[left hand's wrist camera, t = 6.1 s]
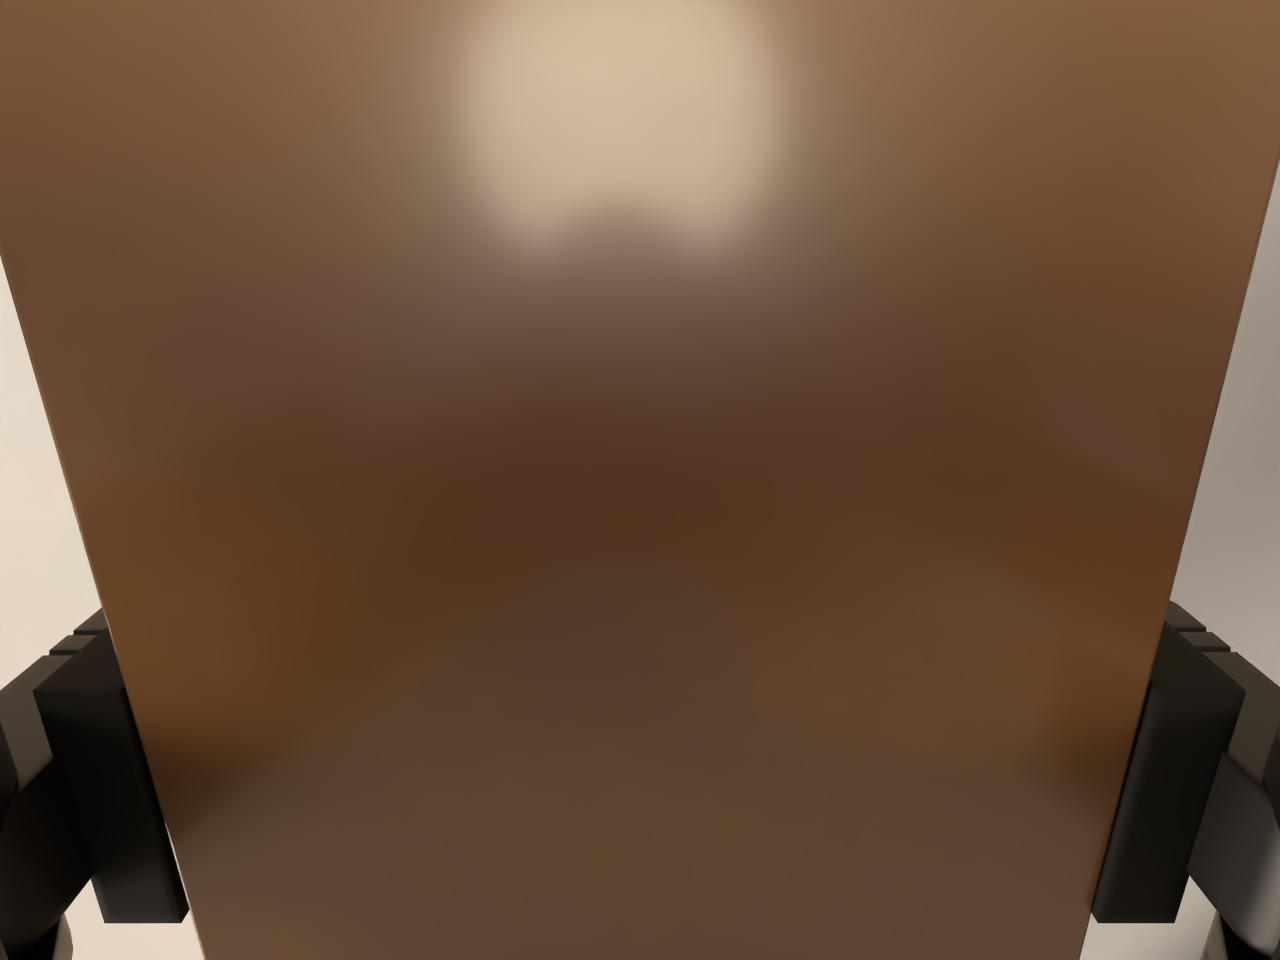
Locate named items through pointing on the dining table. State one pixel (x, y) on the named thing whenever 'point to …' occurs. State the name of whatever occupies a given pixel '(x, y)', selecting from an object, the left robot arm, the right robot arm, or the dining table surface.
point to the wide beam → (635, 447)
